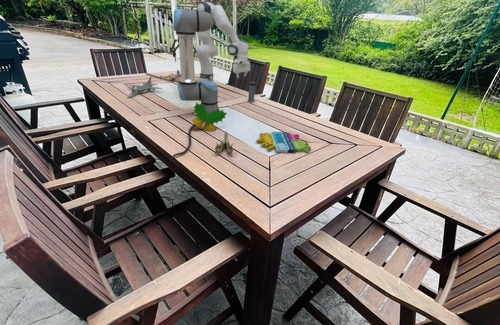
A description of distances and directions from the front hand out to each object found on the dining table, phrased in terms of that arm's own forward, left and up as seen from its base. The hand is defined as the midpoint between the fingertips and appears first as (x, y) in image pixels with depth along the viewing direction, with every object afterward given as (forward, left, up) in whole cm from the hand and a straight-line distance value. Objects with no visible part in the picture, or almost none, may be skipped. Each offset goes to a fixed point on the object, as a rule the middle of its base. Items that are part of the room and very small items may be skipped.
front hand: (184, 61), depth 211 cm
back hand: (+3, -49, -12) cm, 51 cm away
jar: (-19, -53, -28) cm, 63 cm away
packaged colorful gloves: (-102, -48, -28) cm, 117 cm away
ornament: (-76, -10, -28) cm, 81 cm away
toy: (+69, +8, -28) cm, 75 cm away
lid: (-19, -53, -12) cm, 58 cm away
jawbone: (-108, -13, -28) cm, 112 cm away
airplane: (+14, +36, -28) cm, 47 cm away
